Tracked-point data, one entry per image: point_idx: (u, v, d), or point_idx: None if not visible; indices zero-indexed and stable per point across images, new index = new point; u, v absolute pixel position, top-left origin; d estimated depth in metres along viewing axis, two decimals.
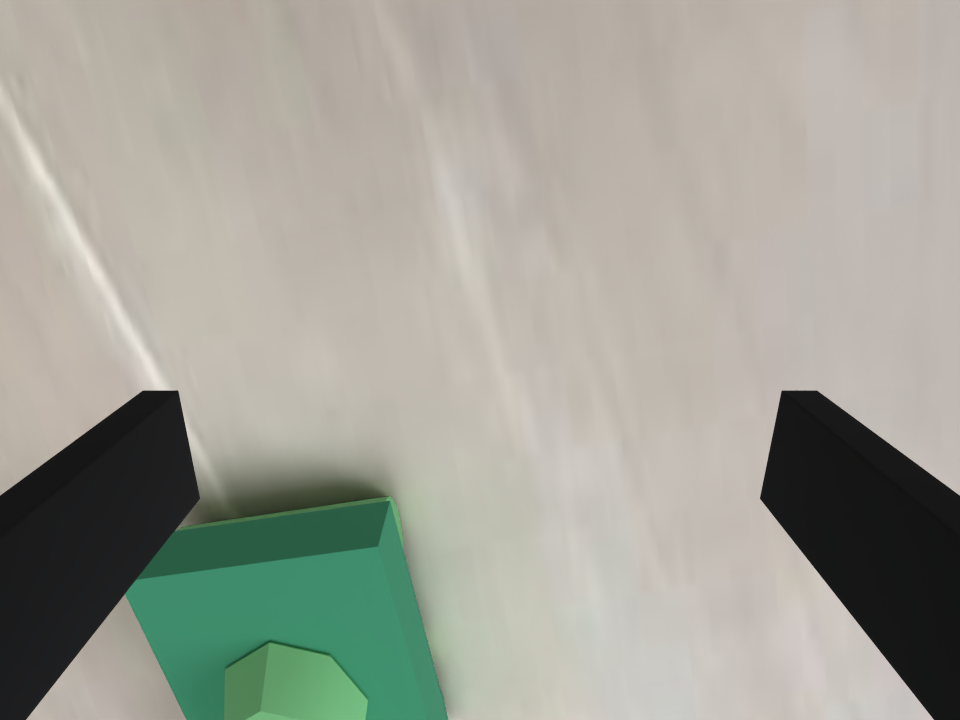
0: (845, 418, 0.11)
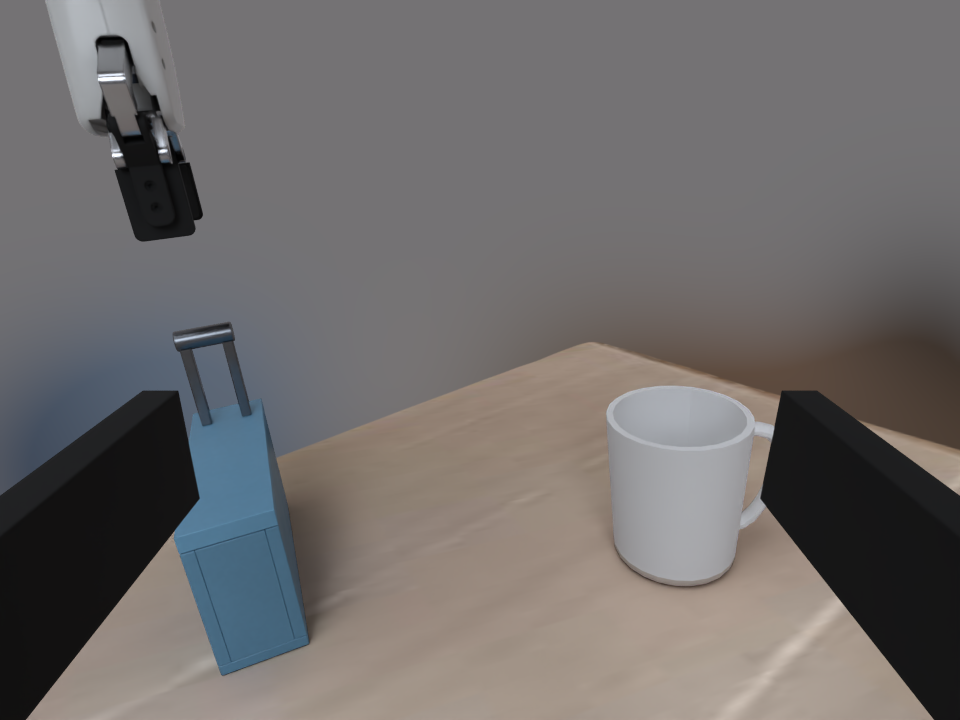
0: (845, 418, 0.11)
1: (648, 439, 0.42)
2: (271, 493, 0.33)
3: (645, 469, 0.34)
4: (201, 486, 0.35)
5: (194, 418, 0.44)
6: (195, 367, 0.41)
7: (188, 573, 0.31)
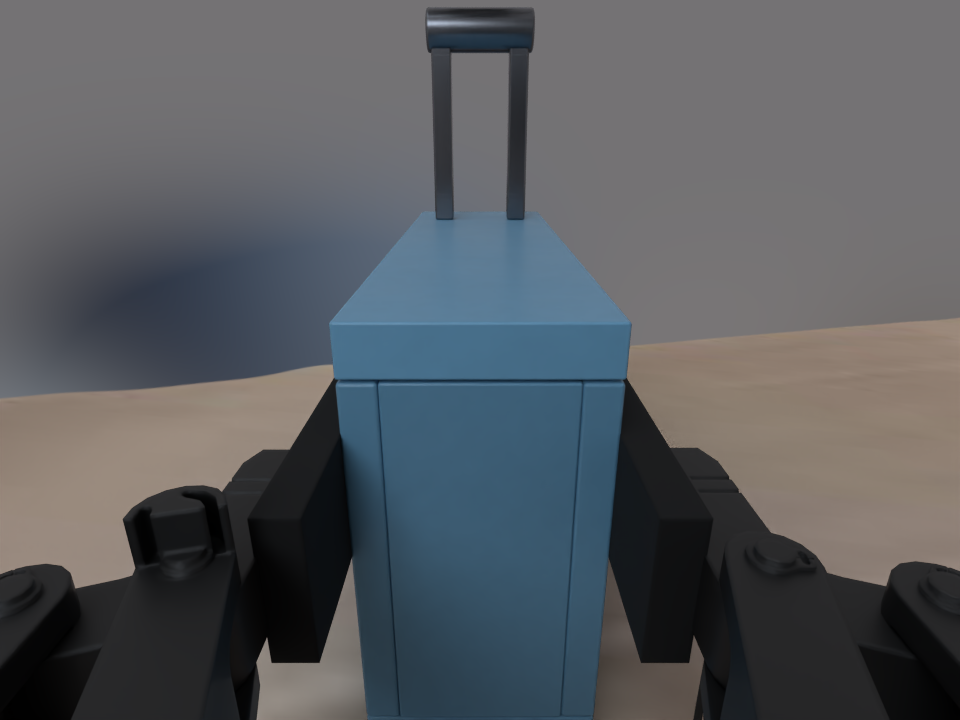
0: None
1: None
2: (607, 296, 0.11)
3: None
4: (424, 266, 0.14)
5: (423, 214, 0.24)
6: (450, 92, 0.21)
7: (347, 447, 0.10)
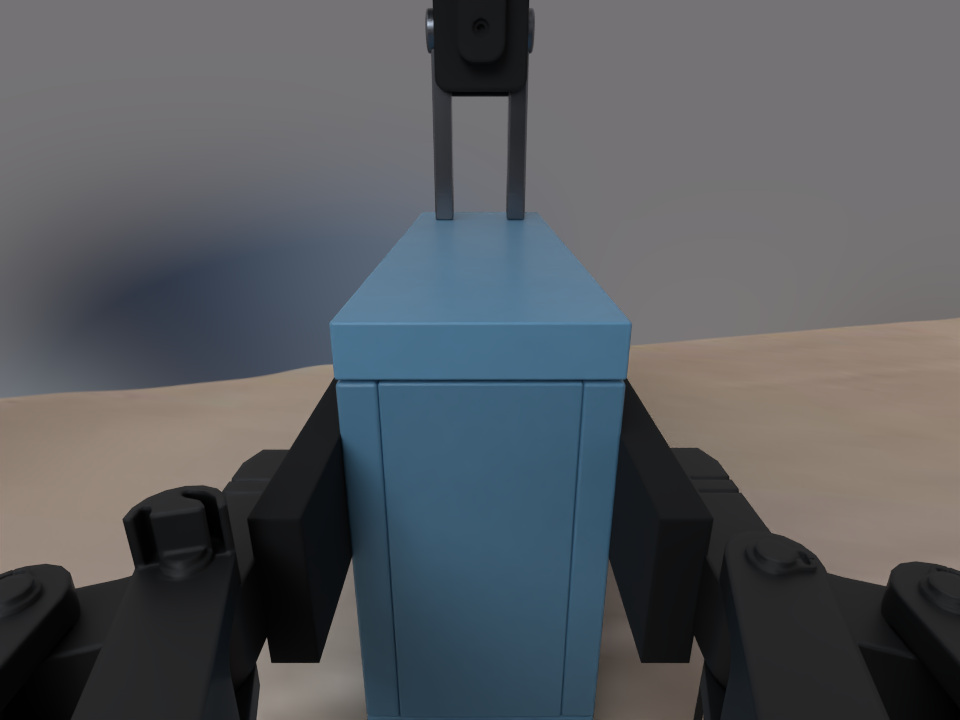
0: None
1: None
2: (607, 296, 0.11)
3: None
4: (424, 266, 0.14)
5: (423, 214, 0.24)
6: (450, 93, 0.21)
7: (347, 447, 0.10)
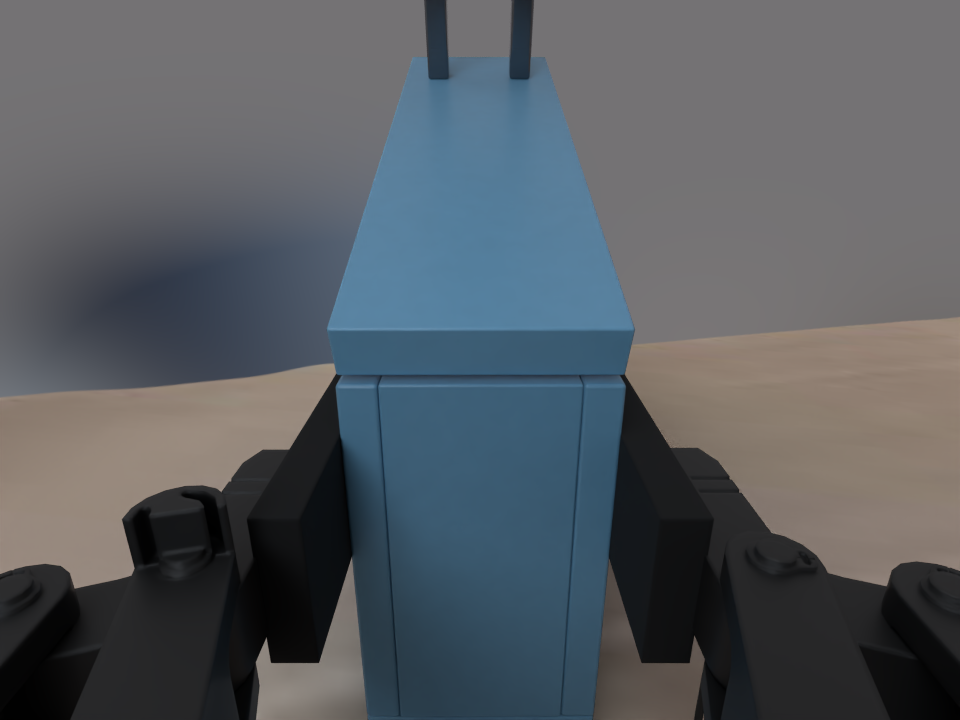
0: None
1: None
2: (613, 270, 0.11)
3: None
4: (419, 198, 0.13)
5: (414, 64, 0.21)
6: None
7: (347, 449, 0.10)
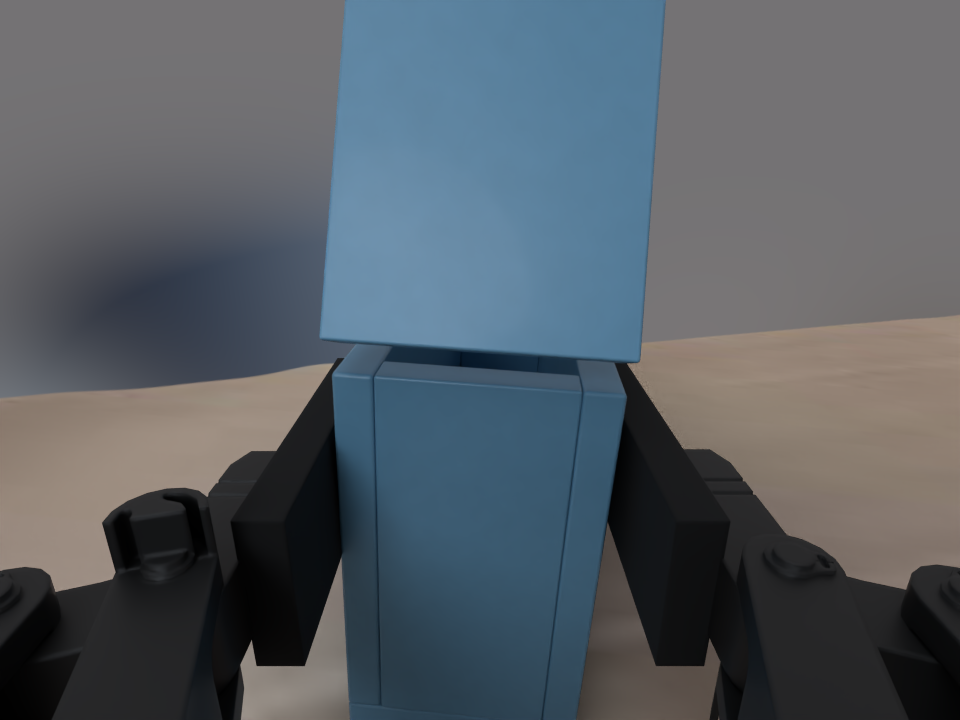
0: (629, 378, 0.13)
1: None
2: (645, 248, 0.09)
3: None
4: (413, 48, 0.09)
5: None
6: None
7: (340, 437, 0.10)
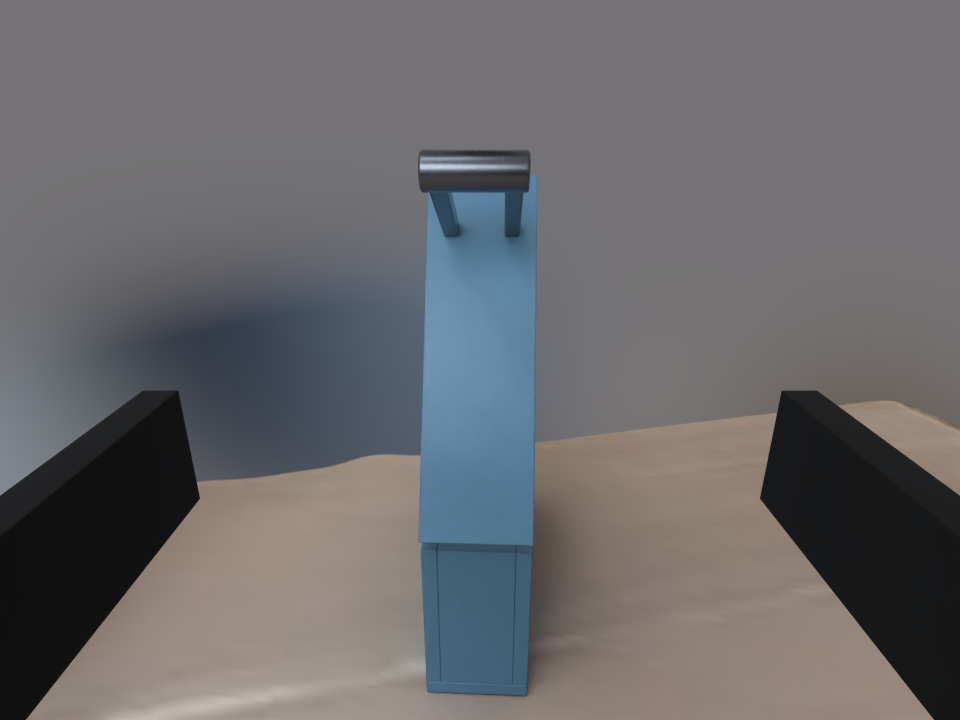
0: (845, 418, 0.11)
1: None
2: (532, 504, 0.26)
3: None
4: (447, 435, 0.26)
5: (431, 196, 0.27)
6: (449, 199, 0.22)
7: (424, 572, 0.27)
